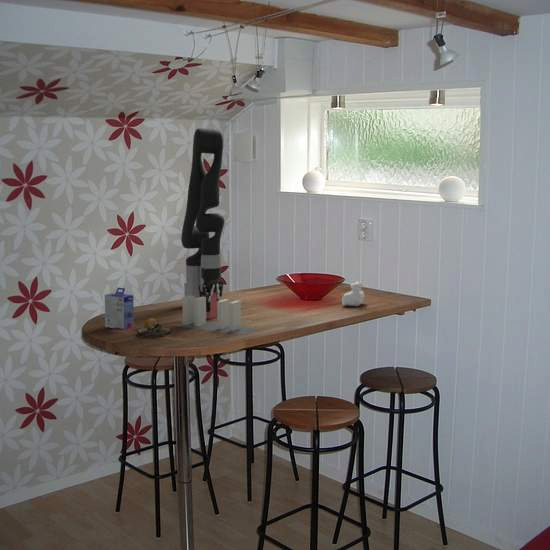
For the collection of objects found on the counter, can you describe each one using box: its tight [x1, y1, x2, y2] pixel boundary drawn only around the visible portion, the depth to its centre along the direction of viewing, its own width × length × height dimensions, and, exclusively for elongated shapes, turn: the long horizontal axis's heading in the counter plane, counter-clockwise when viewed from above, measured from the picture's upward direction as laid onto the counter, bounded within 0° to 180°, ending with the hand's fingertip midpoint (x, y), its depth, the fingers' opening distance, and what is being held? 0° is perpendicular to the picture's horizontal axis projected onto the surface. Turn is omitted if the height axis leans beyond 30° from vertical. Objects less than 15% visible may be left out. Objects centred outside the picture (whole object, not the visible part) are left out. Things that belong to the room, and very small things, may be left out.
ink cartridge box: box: [104, 287, 135, 330], centre depth 275 cm, size 10×6×14 cm, turn 58°
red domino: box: [206, 292, 217, 320], centre depth 290 cm, size 2×5×10 cm, turn 151°
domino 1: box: [181, 295, 195, 325], centre depth 279 cm, size 2×5×10 cm, turn 152°
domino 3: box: [216, 298, 230, 330], centre depth 272 cm, size 2×5×10 cm, turn 152°
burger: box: [136, 317, 172, 339], centre depth 266 cm, size 12×12×8 cm
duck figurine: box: [341, 281, 366, 307], centre depth 314 cm, size 12×8×11 cm
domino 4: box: [229, 300, 242, 331], centre depth 270 cm, size 2×5×10 cm, turn 152°
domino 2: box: [194, 297, 207, 327], centre depth 277 cm, size 2×5×10 cm, turn 152°
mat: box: [176, 321, 261, 336], centre depth 274 cm, size 29×11×1 cm, turn 62°
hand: (211, 309), depth 290 cm, fingers closed on red domino, 5 cm apart
